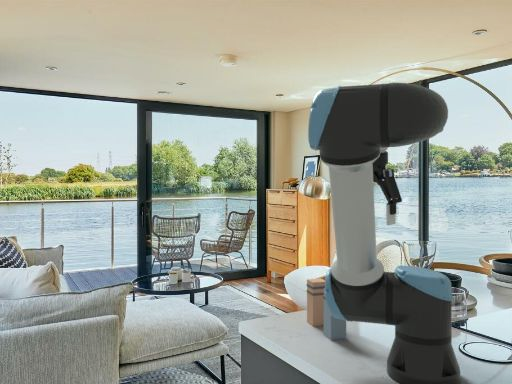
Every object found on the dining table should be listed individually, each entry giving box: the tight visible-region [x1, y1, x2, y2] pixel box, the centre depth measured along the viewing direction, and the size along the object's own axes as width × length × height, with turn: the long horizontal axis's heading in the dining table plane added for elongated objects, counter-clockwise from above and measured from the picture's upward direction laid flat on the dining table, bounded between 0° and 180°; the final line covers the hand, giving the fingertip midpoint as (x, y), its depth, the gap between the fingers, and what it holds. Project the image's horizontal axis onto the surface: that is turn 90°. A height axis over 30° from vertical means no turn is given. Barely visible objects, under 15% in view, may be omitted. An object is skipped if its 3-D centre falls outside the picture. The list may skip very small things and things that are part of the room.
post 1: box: [306, 277, 325, 327], centre depth 132 cm, size 5×5×13 cm
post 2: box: [323, 288, 347, 341], centre depth 120 cm, size 5×5×13 cm
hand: (376, 219), depth 135 cm, fingers open, 13 cm apart
